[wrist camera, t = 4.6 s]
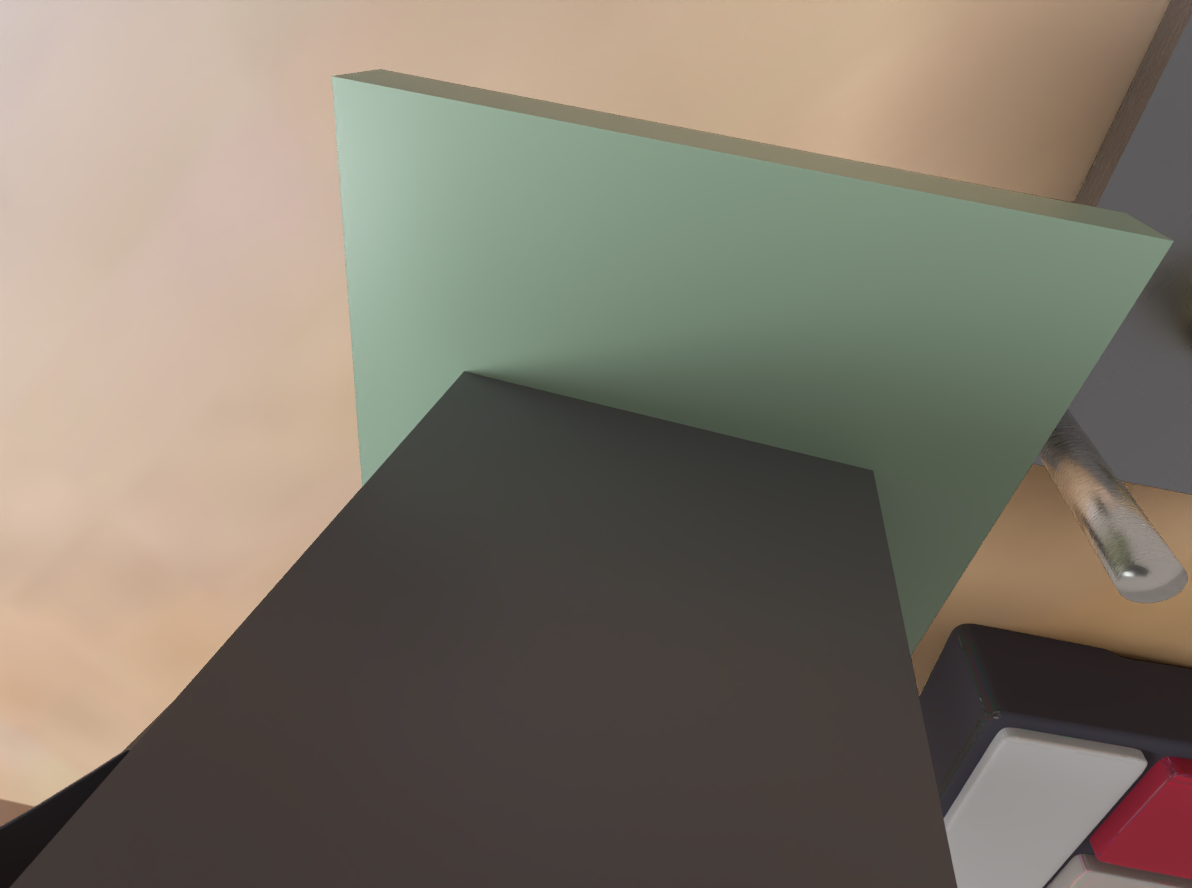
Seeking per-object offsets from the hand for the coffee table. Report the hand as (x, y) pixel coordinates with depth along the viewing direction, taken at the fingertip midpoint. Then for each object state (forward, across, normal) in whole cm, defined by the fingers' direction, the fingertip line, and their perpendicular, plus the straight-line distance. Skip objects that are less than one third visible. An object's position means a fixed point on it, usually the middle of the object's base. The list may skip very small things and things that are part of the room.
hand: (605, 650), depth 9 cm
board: (+2, 0, 0) cm, 2 cm away
